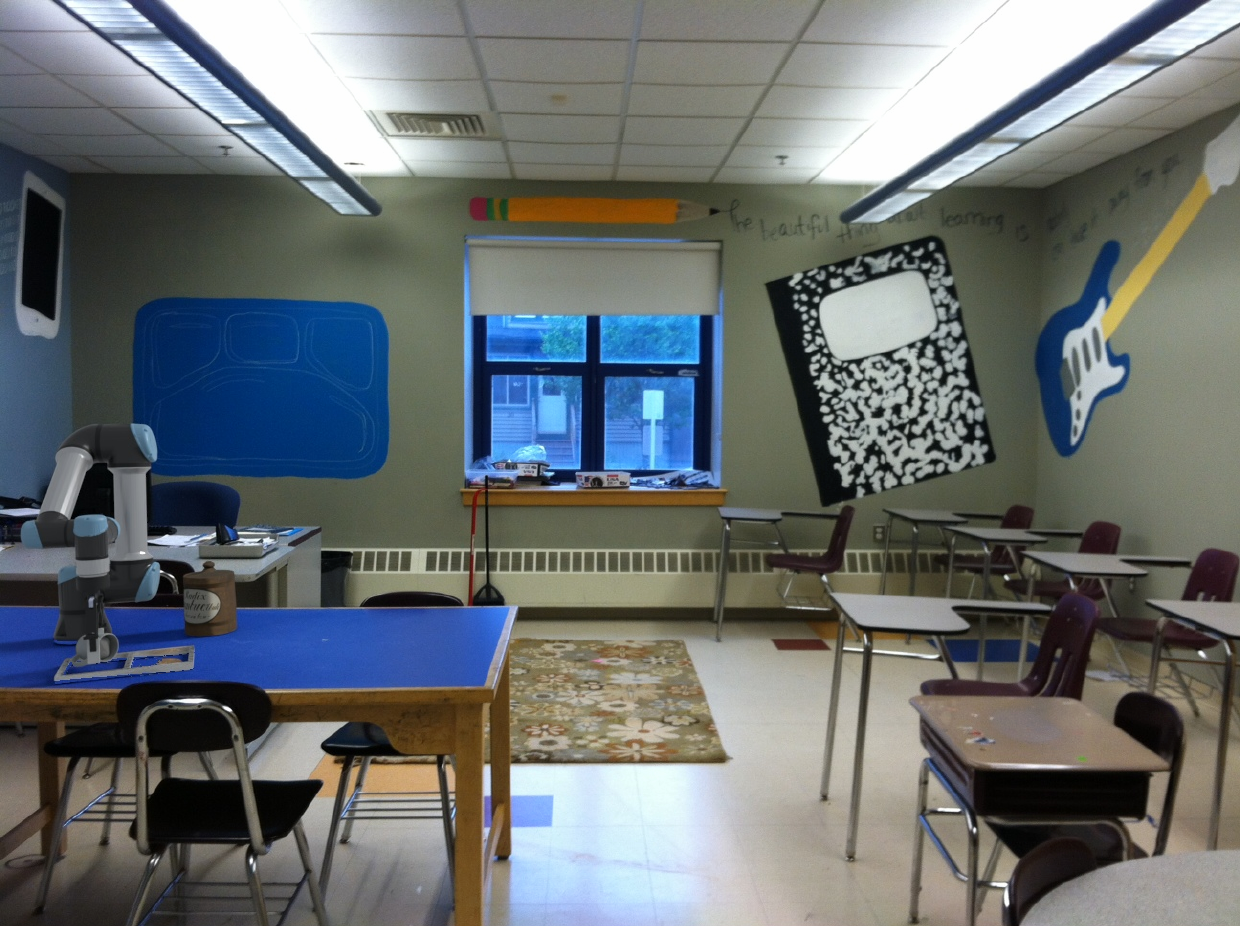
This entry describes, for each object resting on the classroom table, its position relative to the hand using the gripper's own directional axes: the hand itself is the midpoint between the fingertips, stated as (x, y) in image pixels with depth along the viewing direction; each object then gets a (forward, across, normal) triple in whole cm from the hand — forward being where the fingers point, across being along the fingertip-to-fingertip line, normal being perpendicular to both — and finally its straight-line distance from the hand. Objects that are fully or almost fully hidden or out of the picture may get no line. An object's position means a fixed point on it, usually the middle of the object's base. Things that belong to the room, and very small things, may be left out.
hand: (96, 657), depth 233 cm
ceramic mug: (+1, +1, -1) cm, 1 cm away
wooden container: (+4, -34, +27) cm, 44 cm away
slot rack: (+3, 0, +7) cm, 8 cm away
